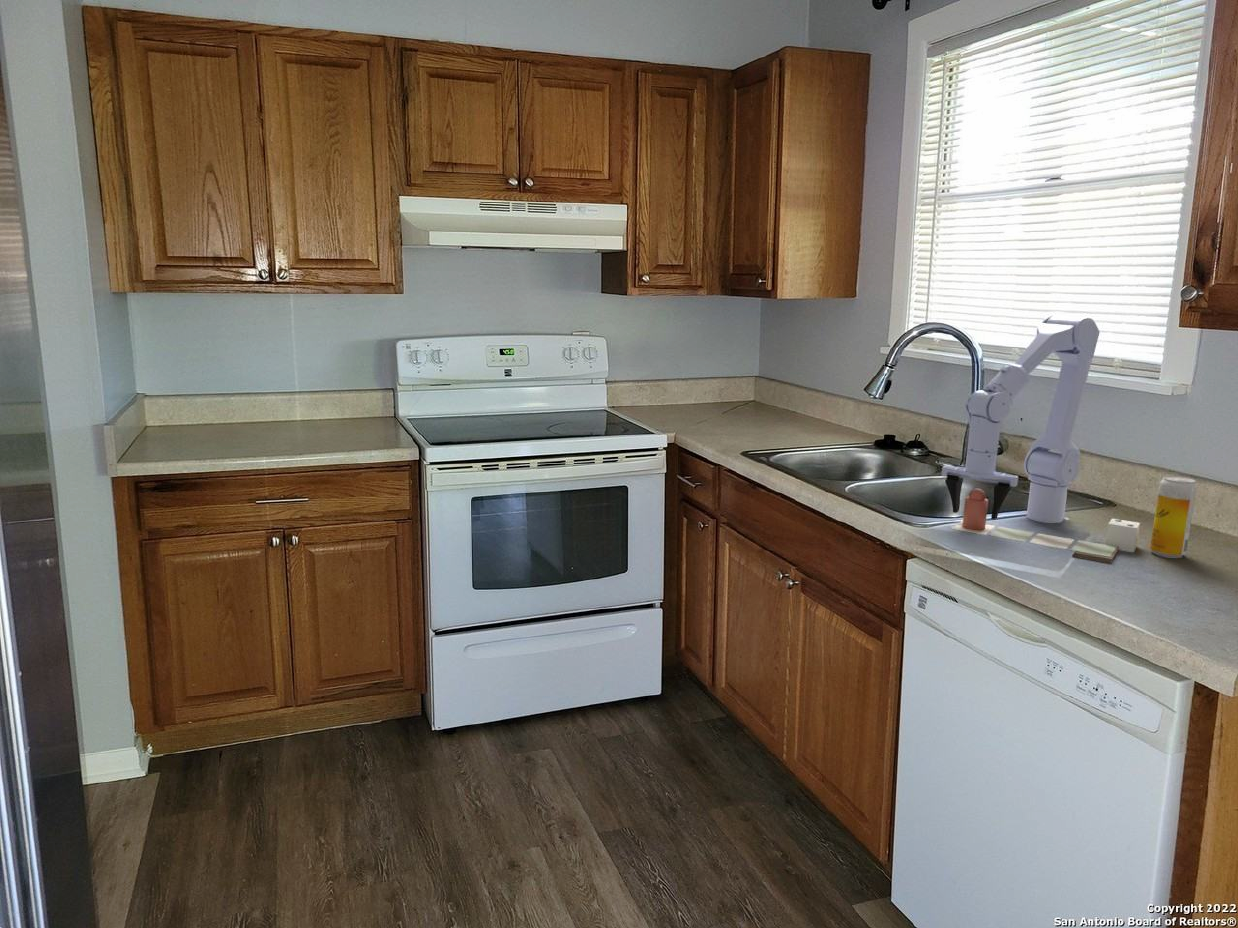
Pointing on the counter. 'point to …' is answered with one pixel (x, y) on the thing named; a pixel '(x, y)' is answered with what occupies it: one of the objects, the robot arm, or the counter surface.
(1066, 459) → the robot arm
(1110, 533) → the die
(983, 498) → the pawn
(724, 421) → the counter surface
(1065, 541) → the board
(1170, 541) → the beer can
